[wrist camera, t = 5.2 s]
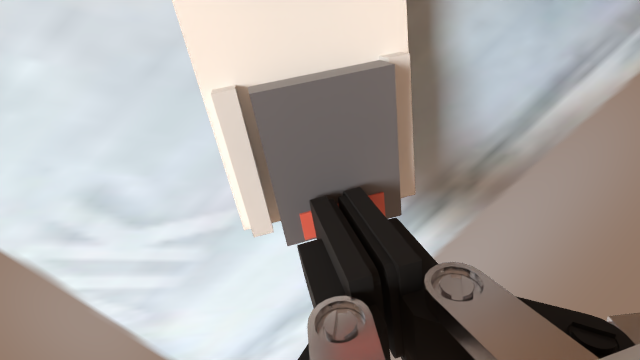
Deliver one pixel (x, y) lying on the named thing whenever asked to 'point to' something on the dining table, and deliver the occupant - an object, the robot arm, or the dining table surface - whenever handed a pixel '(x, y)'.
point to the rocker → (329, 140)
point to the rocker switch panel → (286, 74)
